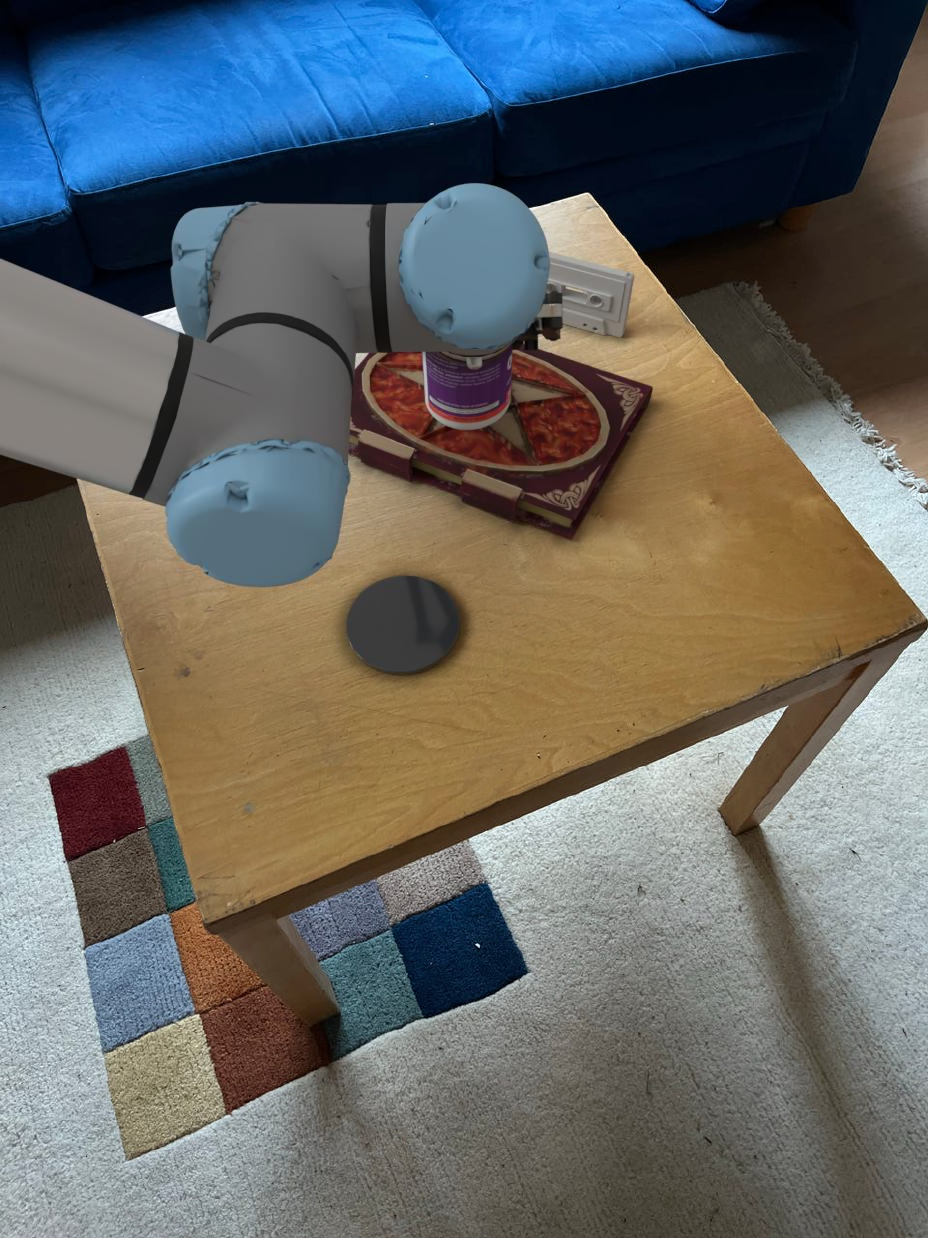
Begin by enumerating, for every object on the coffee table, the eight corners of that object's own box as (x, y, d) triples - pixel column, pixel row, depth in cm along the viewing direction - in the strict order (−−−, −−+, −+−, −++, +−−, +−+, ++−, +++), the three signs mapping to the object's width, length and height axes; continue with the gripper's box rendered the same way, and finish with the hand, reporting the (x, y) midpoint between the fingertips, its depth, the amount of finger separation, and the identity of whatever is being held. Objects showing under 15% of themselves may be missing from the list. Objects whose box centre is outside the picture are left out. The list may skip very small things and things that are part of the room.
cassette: (626, 330, 96) (637, 270, 89) (620, 341, 95) (631, 281, 88) (526, 303, 99) (529, 243, 92) (520, 313, 98) (523, 253, 91)
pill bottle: (523, 421, 80) (532, 288, 68) (443, 445, 78) (437, 314, 66) (490, 365, 84) (493, 230, 72) (412, 387, 82) (402, 253, 70)
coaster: (335, 668, 74) (334, 664, 73) (359, 573, 79) (358, 569, 79) (450, 681, 73) (450, 678, 72) (466, 584, 78) (466, 581, 78)
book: (648, 406, 90) (657, 369, 86) (568, 548, 80) (574, 513, 76) (413, 327, 98) (410, 289, 93) (312, 447, 87) (304, 410, 83)
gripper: (316, 368, 57) (354, 383, 79) (629, 356, 57) (580, 374, 79) (307, 247, 55) (348, 296, 78) (630, 235, 55) (579, 288, 78)
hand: (465, 336), depth 78 cm, fingers closed on pill bottle, 8 cm apart
